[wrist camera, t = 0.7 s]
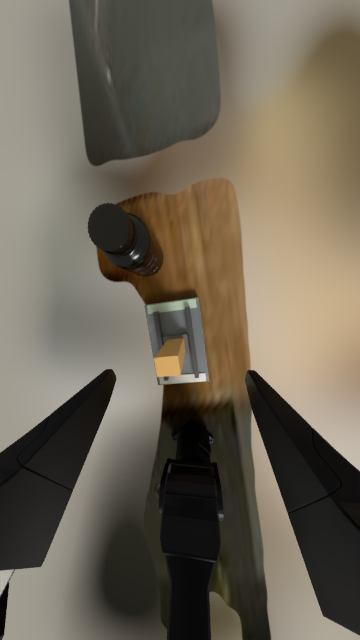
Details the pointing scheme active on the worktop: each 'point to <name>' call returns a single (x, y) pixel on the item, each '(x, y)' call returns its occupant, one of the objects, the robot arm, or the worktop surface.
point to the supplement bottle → (125, 240)
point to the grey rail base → (178, 321)
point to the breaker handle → (172, 355)
